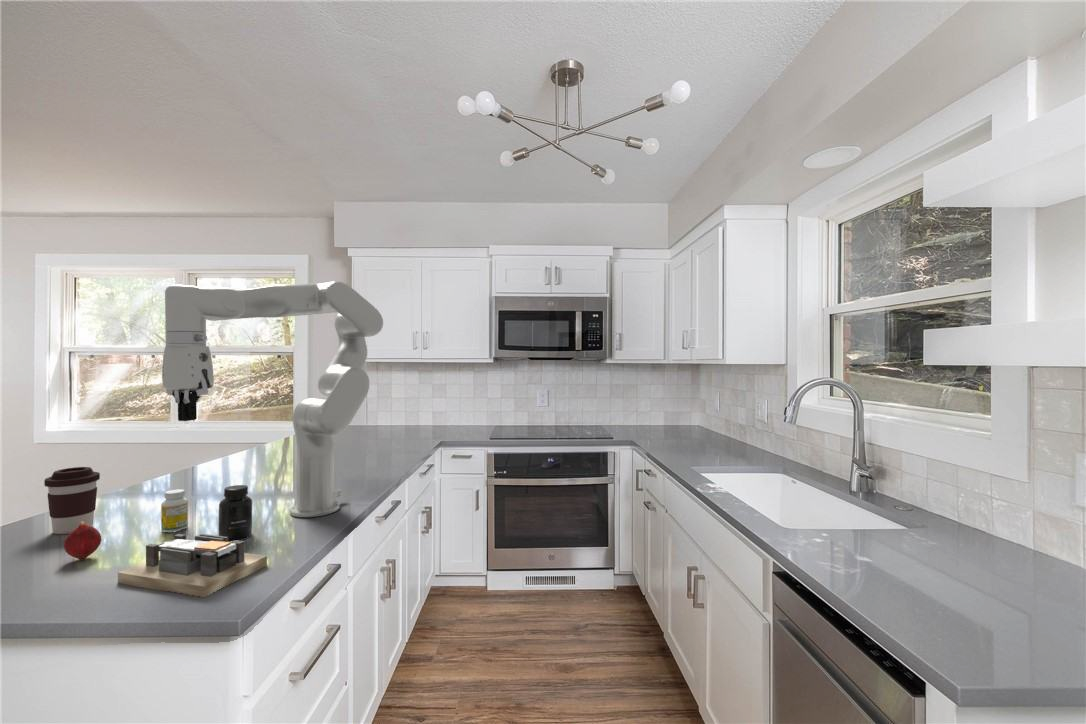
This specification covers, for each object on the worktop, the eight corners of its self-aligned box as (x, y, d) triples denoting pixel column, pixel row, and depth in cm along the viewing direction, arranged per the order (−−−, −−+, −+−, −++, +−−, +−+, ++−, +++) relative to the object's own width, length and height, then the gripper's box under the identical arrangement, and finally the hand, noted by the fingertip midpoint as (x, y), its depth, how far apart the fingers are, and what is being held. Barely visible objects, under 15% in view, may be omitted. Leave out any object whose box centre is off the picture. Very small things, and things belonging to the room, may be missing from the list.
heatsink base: (188, 554, 107) (188, 526, 107) (266, 565, 102) (266, 535, 102) (117, 582, 94) (117, 550, 94) (203, 597, 88) (203, 563, 88)
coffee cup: (42, 540, 115) (42, 476, 115) (46, 529, 123) (46, 469, 122) (99, 530, 122) (99, 470, 121) (100, 520, 129) (100, 463, 129)
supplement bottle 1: (184, 531, 121) (184, 492, 121) (158, 534, 119) (157, 495, 119) (190, 524, 126) (190, 487, 126) (165, 527, 124) (165, 489, 124)
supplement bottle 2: (236, 543, 113) (236, 491, 113) (211, 541, 115) (211, 490, 115) (259, 533, 120) (258, 484, 120) (235, 531, 122) (235, 482, 121)
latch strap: (174, 544, 102) (173, 537, 102) (236, 549, 97) (236, 542, 97) (154, 551, 98) (154, 544, 98) (218, 557, 94) (217, 549, 94)
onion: (107, 556, 106) (107, 519, 106) (75, 566, 101) (74, 527, 101) (90, 552, 108) (90, 516, 108) (57, 562, 103) (57, 524, 103)
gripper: (227, 340, 114) (228, 419, 114) (176, 340, 118) (177, 417, 118) (197, 339, 107) (198, 423, 107) (143, 340, 110) (145, 421, 111)
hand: (187, 420), depth 112 cm, fingers closed
